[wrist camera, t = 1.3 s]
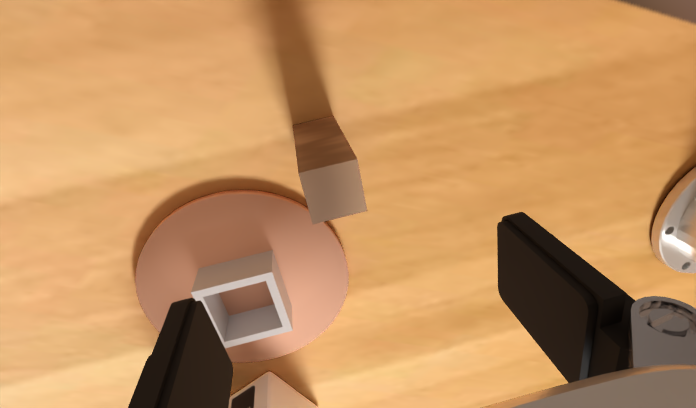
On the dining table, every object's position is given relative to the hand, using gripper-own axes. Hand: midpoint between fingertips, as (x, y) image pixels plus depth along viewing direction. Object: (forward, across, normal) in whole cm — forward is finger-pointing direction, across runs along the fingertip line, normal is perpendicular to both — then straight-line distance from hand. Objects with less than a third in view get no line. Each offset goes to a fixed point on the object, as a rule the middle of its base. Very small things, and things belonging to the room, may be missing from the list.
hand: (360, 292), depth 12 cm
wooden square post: (+16, 0, 0) cm, 16 cm away
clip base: (+16, +8, +10) cm, 21 cm away
